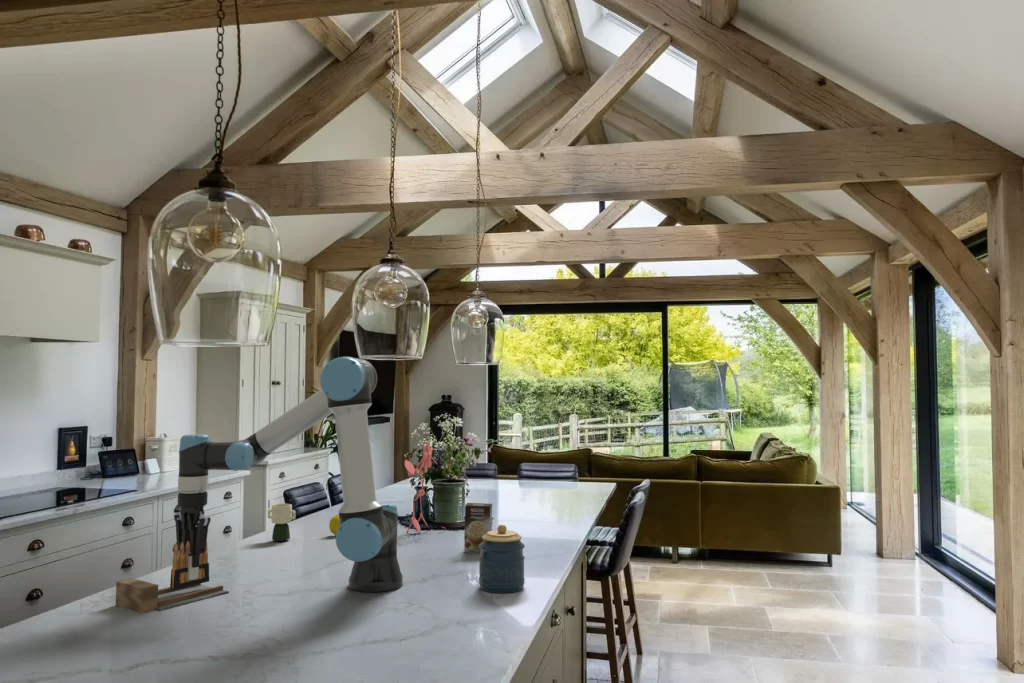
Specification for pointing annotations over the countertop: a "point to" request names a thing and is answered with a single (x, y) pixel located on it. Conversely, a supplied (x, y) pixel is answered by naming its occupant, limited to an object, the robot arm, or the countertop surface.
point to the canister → (501, 561)
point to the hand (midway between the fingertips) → (190, 578)
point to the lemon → (334, 524)
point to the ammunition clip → (181, 568)
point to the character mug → (281, 520)
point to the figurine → (427, 464)
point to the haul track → (160, 595)
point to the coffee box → (476, 525)
